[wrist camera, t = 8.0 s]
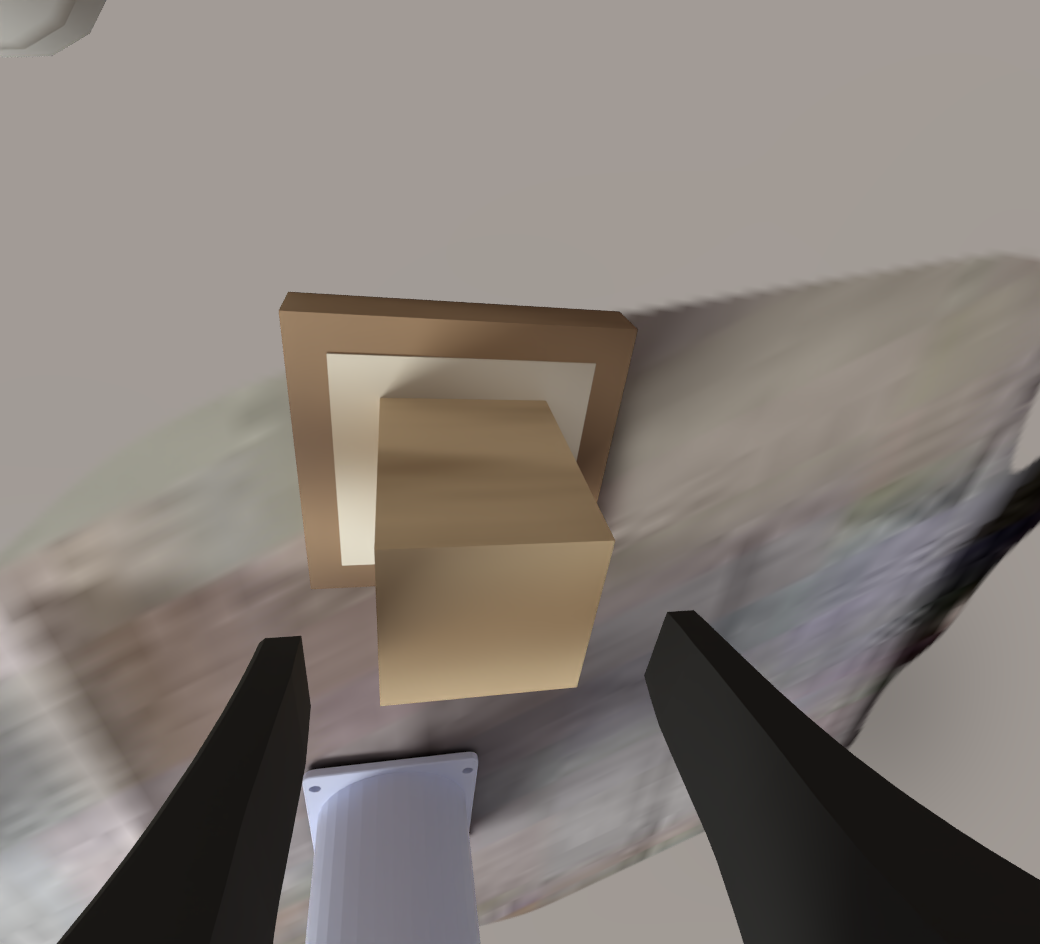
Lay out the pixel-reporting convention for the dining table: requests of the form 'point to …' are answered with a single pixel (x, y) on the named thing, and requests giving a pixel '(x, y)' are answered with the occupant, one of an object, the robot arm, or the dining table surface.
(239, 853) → the robot arm
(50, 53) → the rook chess piece
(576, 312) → the picture frame
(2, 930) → the dining table surface
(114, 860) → the dining table surface
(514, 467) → the oak block
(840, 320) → the dining table surface
